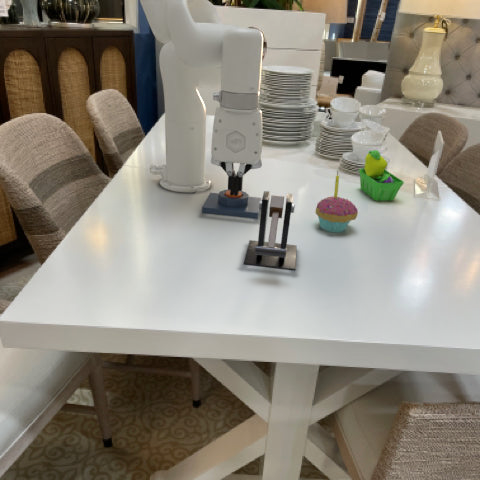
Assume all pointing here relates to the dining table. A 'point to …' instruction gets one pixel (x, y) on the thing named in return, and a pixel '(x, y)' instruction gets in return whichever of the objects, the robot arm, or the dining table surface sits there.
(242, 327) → the dining table surface
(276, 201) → the lever
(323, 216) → the cupcake
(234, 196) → the button
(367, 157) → the fruit basket
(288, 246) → the bracket
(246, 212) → the button block
